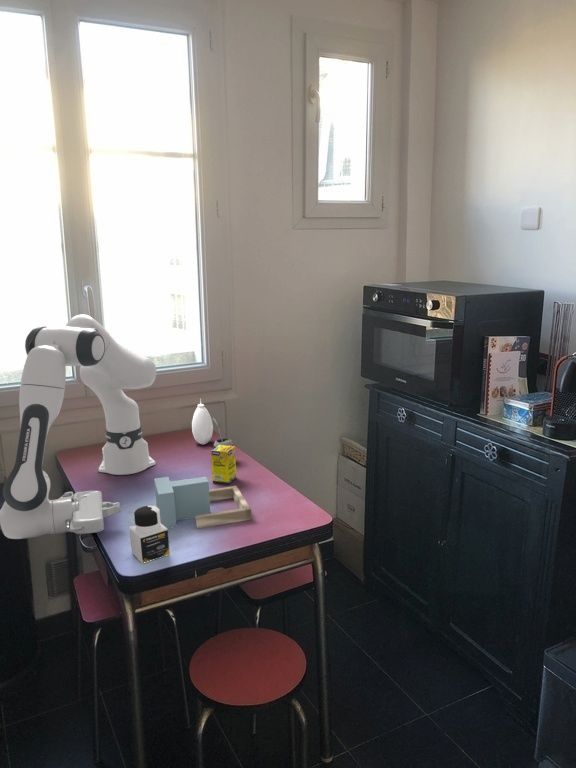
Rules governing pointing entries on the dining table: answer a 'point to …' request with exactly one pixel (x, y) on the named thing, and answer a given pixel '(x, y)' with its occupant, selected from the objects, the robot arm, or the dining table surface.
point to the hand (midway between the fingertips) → (120, 506)
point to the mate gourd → (222, 439)
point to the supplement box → (223, 464)
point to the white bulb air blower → (202, 425)
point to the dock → (225, 516)
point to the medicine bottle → (148, 535)
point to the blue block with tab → (181, 499)
